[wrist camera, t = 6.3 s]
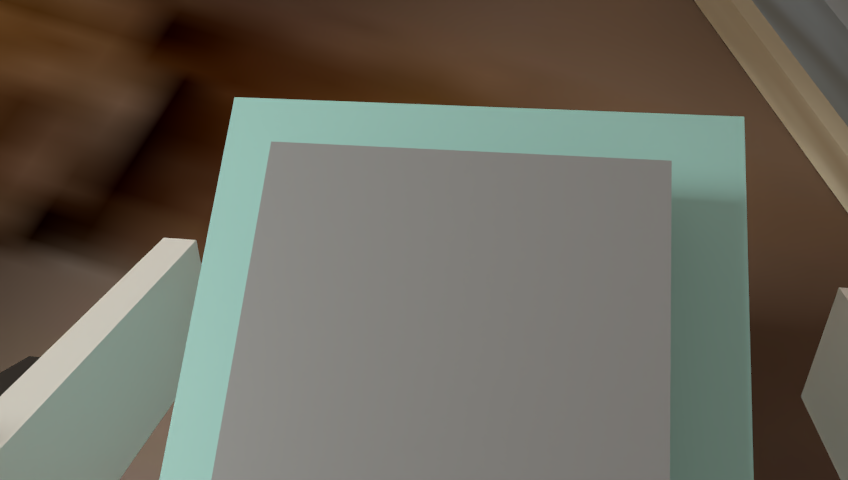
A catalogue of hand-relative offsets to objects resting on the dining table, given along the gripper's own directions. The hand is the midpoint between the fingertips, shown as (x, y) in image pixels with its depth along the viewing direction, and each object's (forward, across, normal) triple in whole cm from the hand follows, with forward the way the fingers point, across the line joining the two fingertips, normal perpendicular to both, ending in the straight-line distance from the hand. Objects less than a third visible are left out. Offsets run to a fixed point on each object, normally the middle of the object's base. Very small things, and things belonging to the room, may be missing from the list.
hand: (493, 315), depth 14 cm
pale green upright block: (+2, 0, -5) cm, 5 cm away
